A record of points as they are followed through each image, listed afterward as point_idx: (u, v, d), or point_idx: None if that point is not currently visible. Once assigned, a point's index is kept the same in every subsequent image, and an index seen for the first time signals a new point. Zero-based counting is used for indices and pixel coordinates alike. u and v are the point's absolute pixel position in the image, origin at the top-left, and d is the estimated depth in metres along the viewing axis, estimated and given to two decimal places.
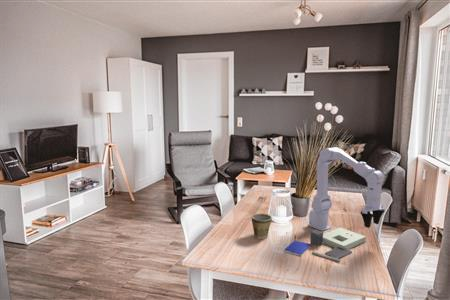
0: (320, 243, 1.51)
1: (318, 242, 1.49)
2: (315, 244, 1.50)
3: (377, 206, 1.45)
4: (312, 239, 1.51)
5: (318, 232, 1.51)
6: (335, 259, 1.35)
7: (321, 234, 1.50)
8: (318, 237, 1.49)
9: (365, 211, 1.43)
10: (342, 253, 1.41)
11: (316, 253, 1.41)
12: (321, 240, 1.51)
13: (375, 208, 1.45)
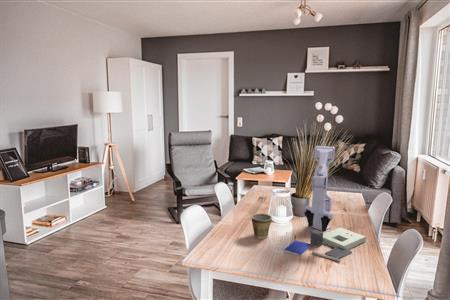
0: (320, 243, 1.51)
1: (318, 242, 1.49)
2: (315, 244, 1.50)
3: (312, 208, 1.49)
4: (312, 239, 1.51)
5: (318, 232, 1.51)
6: (335, 259, 1.35)
7: (321, 234, 1.50)
8: (318, 237, 1.49)
9: None
10: (342, 253, 1.41)
11: (316, 253, 1.41)
12: (321, 240, 1.51)
13: (311, 209, 1.50)
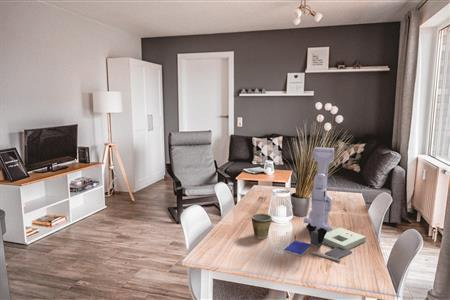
0: None
1: None
2: (315, 244, 1.50)
3: (312, 221, 1.50)
4: (312, 239, 1.51)
5: None
6: (335, 259, 1.35)
7: None
8: None
9: None
10: (342, 253, 1.41)
11: (316, 253, 1.41)
12: None
13: (310, 222, 1.51)
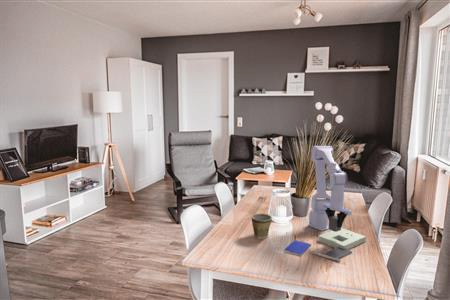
0: (339, 228, 1.50)
1: (336, 227, 1.49)
2: (334, 229, 1.50)
3: (331, 205, 1.50)
4: (331, 224, 1.51)
5: (336, 217, 1.50)
6: (335, 259, 1.35)
7: None
8: (336, 222, 1.49)
9: None
10: (342, 253, 1.41)
11: (316, 253, 1.41)
12: None
13: (329, 206, 1.51)
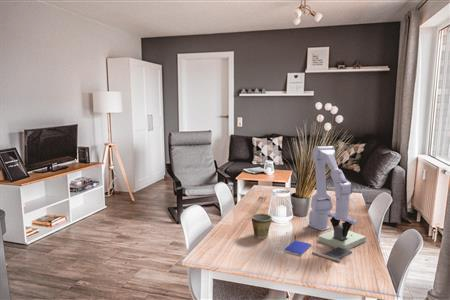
0: (344, 238, 1.51)
1: (341, 237, 1.50)
2: (339, 239, 1.50)
3: (336, 215, 1.50)
4: (336, 234, 1.52)
5: (342, 227, 1.51)
6: (335, 259, 1.35)
7: None
8: (342, 232, 1.50)
9: None
10: (342, 253, 1.41)
11: (316, 253, 1.41)
12: None
13: (334, 216, 1.52)
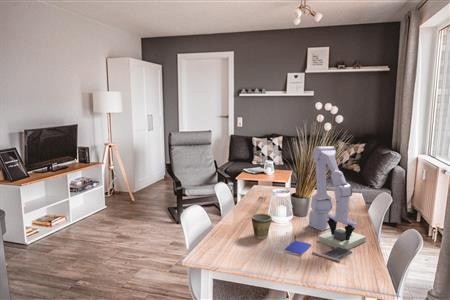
0: None
1: (341, 240, 1.50)
2: None
3: (336, 217, 1.51)
4: (336, 237, 1.52)
5: (341, 231, 1.52)
6: (335, 259, 1.35)
7: (345, 233, 1.51)
8: (342, 236, 1.50)
9: None
10: (342, 253, 1.41)
11: (316, 253, 1.41)
12: None
13: (334, 218, 1.52)
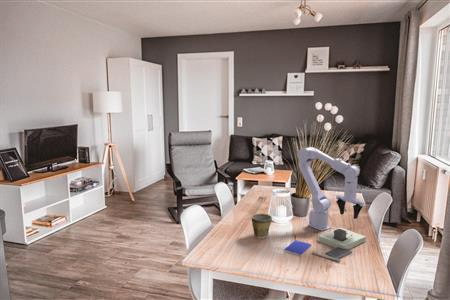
0: None
1: (341, 240, 1.50)
2: None
3: (345, 197, 1.60)
4: (336, 237, 1.52)
5: (341, 231, 1.52)
6: (335, 259, 1.35)
7: (345, 233, 1.51)
8: (342, 236, 1.50)
9: None
10: (342, 253, 1.41)
11: (316, 253, 1.41)
12: (345, 238, 1.52)
13: (343, 198, 1.61)
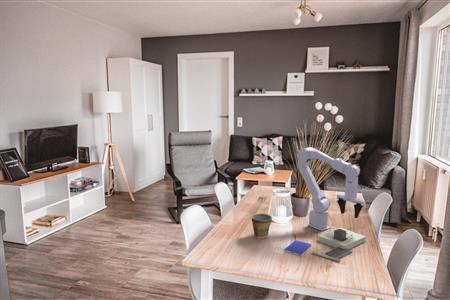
0: None
1: (341, 240, 1.50)
2: None
3: (345, 196, 1.60)
4: (336, 237, 1.52)
5: (341, 231, 1.52)
6: (335, 259, 1.35)
7: (345, 233, 1.51)
8: (342, 236, 1.50)
9: None
10: (342, 253, 1.41)
11: (316, 253, 1.41)
12: (345, 238, 1.52)
13: (344, 197, 1.62)
